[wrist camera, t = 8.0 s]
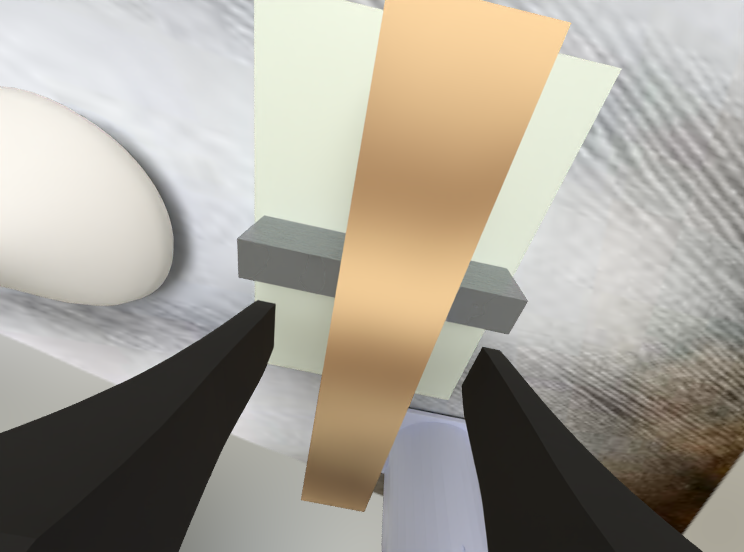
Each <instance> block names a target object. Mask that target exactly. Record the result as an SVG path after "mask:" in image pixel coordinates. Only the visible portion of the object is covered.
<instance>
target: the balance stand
mask: <svg viewBox="0 0 744 552" xmlns="http://www.w3.org/2000/svg"><path fill="white" fill-rule="evenodd" d="M382 16H383V10H381V9H377V8H373V7H369V6H365V5H361V4H357V3H353V2H349V1H344V0H254V139H255V224H254V225H252V226H251V227H250V228H249V229H248V230H247V231H245V232H244V233H243V234H242V235H241V236H240V237H238V238H237V245H238V274H239V278H244V279H249V280H253V281H255V301H257V300H260V301H265V302H270V303H275V304H276V310H275V333H274V348H273V351H272V354H271V356H270V359H269V361H268V364H271V365H276V366H281V367H286V368H291V369H296V370H301V371H306V372H311V373H316V374H321V375H322V372H323V366H324V360H325V354H326V348H327V342H328V336H329V330H330V324H331V319H332V313H333V307H334V301H335V295H336V289H337V283H338V277H339V271H340V265H341V259H342V253H343V247H344V241H345V236H346V230H347V224H348V218H349V212H350V206H351V200H352V194H353V188H354V182H355V176H356V170H357V164H358V158H359V153H360V147H361V141H362V135H363V129H364V123H365V117H366V111H367V105H368V99H369V93H370V87H371V81H372V75H373V70H374V64H375V58H376V52H377V46H378V40H379V34H380V28H381V22H382ZM620 71H621V68H617V67H613V66H609V65H604V64H600V63H596V62H592V61H588V60H584V59H580V58H576V57H572V56H568V55H564V54H560V53H558V55H557V58H556V60H555V62H554V65H553V67H552V70H551V72H550V74H549V77H548V79H547V81H546V84H545V86H544V88H543V91H542V93H541V96H540V98H539V100H538V103H537V105H536V107H535V110H534V112H533V114H532V117H531V119H530V122H529V124H528V126H527V129H526V131H525V133H524V136H523V138H522V140H521V143H520V145H519V148H518V150H517V152H516V155H515V157H514V159H513V162H512V164H511V166H510V169H509V171H508V174H507V176H506V178H505V181H504V183H503V185H502V188H501V190H500V192H499V195H498V197H497V200H496V202H495V204H494V207H493V209H492V211H491V214H490V216H489V218H488V221H487V223H486V226H485V228H484V230H483V233H482V235H481V237H480V240H479V242H478V244H477V247H476V249H475V252H474V254H473V256H472V259H471V261H470V263H469V266H468V268H467V270H466V273H465V275H464V278H463V280H462V282H461V285H460V287H459V289H458V292H457V294H456V296H455V299H454V301H453V304H452V306H451V308H450V311H449V313H448V315H447V318H446V320H445V322H444V325H443V327H442V329H441V332H440V334H439V337H438V339H437V341H436V344H435V346H434V348H433V351H432V353H431V355H430V358H429V360H428V363H427V365H426V367H425V370H424V372H423V374H422V377H421V379H420V381H419V384H418V386H417V389H416V391H415V394H420V395H425V396H430V397H435V398H440V399H445V400H449V398H450V396H451V394H452V392H453V390H454V388H455V387H456V385H457V383H458V381H459V379H460V377H461V375H462V373H463V371H464V369H465V367H466V366H467V364H468V362H469V360H470V358H471V356H472V354H473V352H474V350H475V348H476V346H477V344H478V343H479V341H480V339H481V337H482V335H483V333H484V331H485V330H490V331H495V332H500V333H504V334H509V333H510V331H511V329H512V328H513V326H514V324H515V322H516V321H517V319H518V317H519V316H520V314H521V312H522V310H523V309H524V307H525V305H526V304H527V302H528V301H527V299H526V297H525V296H524V294H523V293H522V291H521V290H520V288H519V286H518V285H517V283H516V282H515V280H514V279H513V276H514V274H515V272H516V270H517V268H518V266H519V264H520V262H521V260H522V258H523V256H524V255H525V253H526V251H527V249H528V247H529V245H530V243H531V241H532V239H533V237H534V235H535V234H536V232H537V230H538V228H539V226H540V224H541V222H542V220H543V218H544V216H545V214H546V212H547V211H548V209H549V207H550V205H551V203H552V201H553V199H554V197H555V195H556V193H557V191H558V190H559V188H560V186H561V184H562V182H563V180H564V178H565V176H566V174H567V172H568V170H569V168H570V167H571V165H572V163H573V161H574V159H575V157H576V155H577V153H578V151H579V149H580V147H581V146H582V144H583V142H584V140H585V138H586V136H587V134H588V132H589V130H590V128H591V126H592V124H593V123H594V121H595V119H596V117H597V115H598V113H599V111H600V109H601V107H602V105H603V103H604V102H605V100H606V98H607V96H608V94H609V92H610V90H611V88H612V86H613V84H614V82H615V80H616V79H617V77H618V75H619V73H620Z"/></svg>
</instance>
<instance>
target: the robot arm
mask: <svg viewBox="0 0 744 552" xmlns="http://www.w3.org/2000/svg"><path fill="white" fill-rule="evenodd" d="M275 310H276V304H275V303H270V302H265V301H260V300H257V301H255V302H254V303H252V304H251V305H250V306H248V307H247V308H245V309H244V310H243V311H241V312H240V313H238V314H237V315H235V316H234V317H233V318H231V319H230V320H228V321H227V322H226V323H224V324H223V325H221V326H220V327H218V328H217V329H215V330H214V331H212V332H211V333H209V334H208V335H206V336H205V337H203V338H202V339H200V340H198V341H197V342H195V343H193V344H192V345H190V346H189V347H187V348H185V349H184V350H182V351H180V352H179V353H177V354H175V355H174V356H172V357H170V358H169V359H167V360H165V361H163V362H161V363H160V364H158V365H156V366H154V367H152V368H150V369H148V370H147V371H145V372H143V373H141V374H139V375H137V376H135V377H133V378H131V379H129V380H127V381H125V382H123V383H120V384H118V385H116V386H114V387H112V388H110V389H107V390H105V391H103V392H101V393H98V394H96V395H94V396H92V397H90V398H87V399H85V400H83V401H81V402H79V403H76V404H74V405H72V406H69V407H67V408H64V409H62V410H59V411H57V412H54V413H52V414H49V415H47V416H44V417H42V418H39V419H37V420H34V421H31V422H29V423H26V424H24V425H21V426H19V427H16V428H13V429H11V430H8V431H5V432H2V433H0V552H179V549H180V547H181V544H182V542H183V539H184V537H185V535H186V532H187V530H188V527H189V525H190V522H191V520H192V518H193V515H194V513H195V511H196V508H197V506H198V504H199V501H200V499H201V496H202V494H203V492H204V489H205V487H206V484H207V483H208V480H209V478H210V476H211V473H212V471H213V469H214V467H215V464H216V462H217V460H218V458H219V455H220V453H221V451H222V449H223V447H224V445H225V443H226V441H227V439H228V437H229V435H230V434H231V432H232V430H233V428H234V426H235V424H236V423H237V421H238V419H239V417H240V415H241V414H242V412H243V410H244V408H245V406H246V405H247V403H248V401H249V399H250V397H251V396H252V394H253V392H254V390H255V388H256V386H257V385H258V383H259V381H260V379H261V377H262V375H263V373H264V371H265V368H266V366H267V364H268V361H269V359H270V356H271V354H272V351H273V348H274V333H275ZM462 398H463V409H464V417H465V420H464V419H459V418H454V417H449V416H444V415H439V414H434V413H429V412H424V411H419V410H414V409H409V408H408V410H407V412H406V415H405V417H404V419H403V422H402V424H401V426H400V429H399V431H398V433H397V436H396V438H395V441H394V443H393V445H392V448H391V450H390V452H389V455H388V457H387V459H386V462H385V464H384V467H383V469H382V471H381V473H384V497H383V522H382V552H702V551H701V550H700V549H699V548H698V547H696V546H695V545H694V544H692V543H691V542H690V541H689V540H688V539H686V538H685V537H684V536H683V535H681V534H680V533H679V532H678V531H677V530H675V529H674V528H673V527H672V526H671V525H669V524H668V523H667V522H666V521H665V520H663V519H662V518H661V517H660V516H659V515H657V514H656V513H655V512H654V511H653V510H652V509H651V508H649V507H648V506H647V505H646V504H645V503H644V502H643V501H641V500H640V499H639V498H638V497H637V496H636V495H635V494H633V493H632V492H631V491H630V490H629V489H628V488H627V487H626V486H625V485H624V484H622V483H621V482H620V481H619V480H618V479H617V478H616V477H615V476H614V475H613V474H612V473H611V472H610V471H609V470H608V469H607V468H605V467H604V466H603V465H602V464H601V463H600V462H599V461H598V460H597V459H596V458H595V457H594V456H593V455H592V454H591V453H590V452H589V451H588V450H587V449H586V448H585V447H584V446H583V445H582V444H581V443H580V442H579V441H578V440H577V439H576V438H575V436H574V435H573V434H572V433H571V432H570V431H569V430H568V429H567V428H566V427H565V426H564V425H563V424H562V422H561V421H560V420H559V419H558V418H557V417H556V416H555V415H554V414H553V412H552V411H551V410H550V409H549V408H548V407H547V406H546V404H545V403H544V402H543V401H542V400H541V399H540V397H539V396H538V395H537V394H536V393H535V392H534V390H533V389H532V388H531V387H530V386H529V384H528V383H527V382H526V381H525V380H524V378H523V377H522V376H521V375H520V374H519V372H518V371H517V370H516V369H515V367H514V366H513V365H512V364H511V363H510V362H509V360H508V359H507V358H506V357H505V356H504V355H503V354H502V352H501V351H500V350H495V349H490V348H485V347H482V349H481V351H480V353H479V355H478V356H477V358H476V360H475V362H474V364H473V366H472V368H471V369H470V371H469V373H468V375H467V377H466V379H465V381H464V382H463V384H462Z"/></svg>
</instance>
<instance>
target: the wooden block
mask: <svg viewBox="0 0 744 552" xmlns="http://www.w3.org/2000/svg"><path fill="white" fill-rule="evenodd" d="M570 25H571V23H570V22H566V21H562V20H558V19H554V18H550V17H546V16H542V15H538V14H534V13H530V12H526V11H522V10H518V9H514V8H510V7H506V6H502V5H498V4H494V3H490V2H486V1H482V0H385V4H384V10H383V16H382V22H381V28H380V34H379V40H378V46H377V52H376V58H375V64H374V70H373V75H372V81H371V87H370V93H369V99H368V105H367V111H366V117H365V123H364V129H363V135H362V141H361V147H360V153H359V158H358V164H357V170H356V176H355V182H354V188H353V194H352V200H351V206H350V212H349V218H348V224H347V230H346V236H345V241H344V247H343V253H342V259H341V265H340V271H339V277H338V283H337V289H336V295H335V301H334V307H333V313H332V319H331V324H330V330H329V336H328V342H327V348H326V354H325V360H324V366H323V372H322V378H321V384H320V390H319V396H318V402H317V407H316V413H315V419H314V425H313V431H312V437H311V443H310V449H309V455H308V461H307V467H306V473H305V479H304V485H303V490H302V497H301V500H304V501H309V502H314V503H319V504H325V505H330V506H335V507H341V508H346V509H352V510H357V511H362V512H364V511H365V509H366V507H367V504H368V502H369V500H370V497H371V495H372V493H373V490H374V488H375V485H376V483H377V481H378V478H379V476H380V474H381V471H382V469H383V467H384V464H385V462H386V459H387V457H388V455H389V452H390V450H391V448H392V445H393V443H394V441H395V438H396V436H397V433H398V431H399V429H400V426H401V424H402V422H403V419H404V417H405V415H406V412H407V410H408V407H409V405H410V403H411V400H412V398H413V396H414V393H415V391H416V389H417V386H418V384H419V381H420V379H421V377H422V374H423V372H424V370H425V367H426V365H427V363H428V360H429V358H430V355H431V353H432V351H433V348H434V346H435V344H436V341H437V339H438V337H439V334H440V332H441V329H442V327H443V325H444V322H445V320H446V318H447V315H448V313H449V311H450V308H451V306H452V304H453V301H454V299H455V296H456V294H457V292H458V289H459V287H460V285H461V282H462V280H463V278H464V275H465V273H466V270H467V268H468V266H469V263H470V261H471V259H472V256H473V254H474V252H475V249H476V247H477V244H478V242H479V240H480V237H481V235H482V233H483V230H484V228H485V226H486V223H487V221H488V218H489V216H490V214H491V211H492V209H493V207H494V204H495V202H496V200H497V197H498V195H499V192H500V190H501V188H502V185H503V183H504V181H505V178H506V176H507V174H508V171H509V169H510V166H511V164H512V162H513V159H514V157H515V155H516V152H517V150H518V148H519V145H520V143H521V140H522V138H523V136H524V133H525V131H526V129H527V126H528V124H529V122H530V119H531V117H532V114H533V112H534V110H535V107H536V105H537V103H538V100H539V98H540V96H541V93H542V91H543V88H544V86H545V84H546V81H547V79H548V77H549V74H550V72H551V70H552V67H553V65H554V62H555V60H556V58H557V55H558V53H559V51H560V48H561V46H562V44H563V41H564V39H565V36H566V34H567V32H568V29H569V27H570Z"/></svg>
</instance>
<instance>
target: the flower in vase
mask: <svg viewBox="0 0 744 552" xmlns="http://www.w3.org/2000/svg"><path fill="white" fill-rule="evenodd" d="M172 259H173V231H172V225H171V222H170V218H169V215H168V212H167V210H166V207H165V205H164V202H163V200H162V198H161V196H160V194H159V193H158V191H157V189H156V187H155V186H154V184H153V183H152V181H151V180H150V178H149V177H148V175H147V174H146V172H145V171H144V170H143V169H142V167H141V166H140V165H139V164H138V163H137V161H136V160H135V159H134V158H133V157H132V156H131V155H130V154H129V153H128V152H127V151H126V150H125V149H124V148H123V147H122V146H121V145H120V144H119V143H118V142H117V141H116V140H115V139H113V138H112V137H111V136H110V135H109V134H107V133H106V132H105V131H103V130H102V129H101V128H99V127H98V126H96V125H95V124H94V123H92V122H90V121H89V120H87V119H86V118H84V117H82V116H81V115H79V114H77V113H76V112H74V111H73V110H71V109H69V108H68V107H66V106H64V105H62V104H60V103H58V102H55V101H53V100H51V99H49V98H47V97H44V96H41V95H38V94H36V93H33V92H30V91H26V90H21V89H17V88H13V87H0V286H1V287H6V288H10V289H15V290H18V291H22V292H26V293H29V294H33V295H37V296H41V297H45V298H49V299H53V300H58V301H63V302H67V303H76V304H85V305H95V306H112V305H120V304H123V303H127V302H130V301H134V300H137V299H141V298H143V297H146V296H148V295H150V294H151V293H153V292H154V291H155V290H157V289H158V288H159V287H160V286H161V285H162V284H163V283H164V281H165V279H166V278H167V276H168V274H169V271H170V268H171V265H172Z"/></svg>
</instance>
